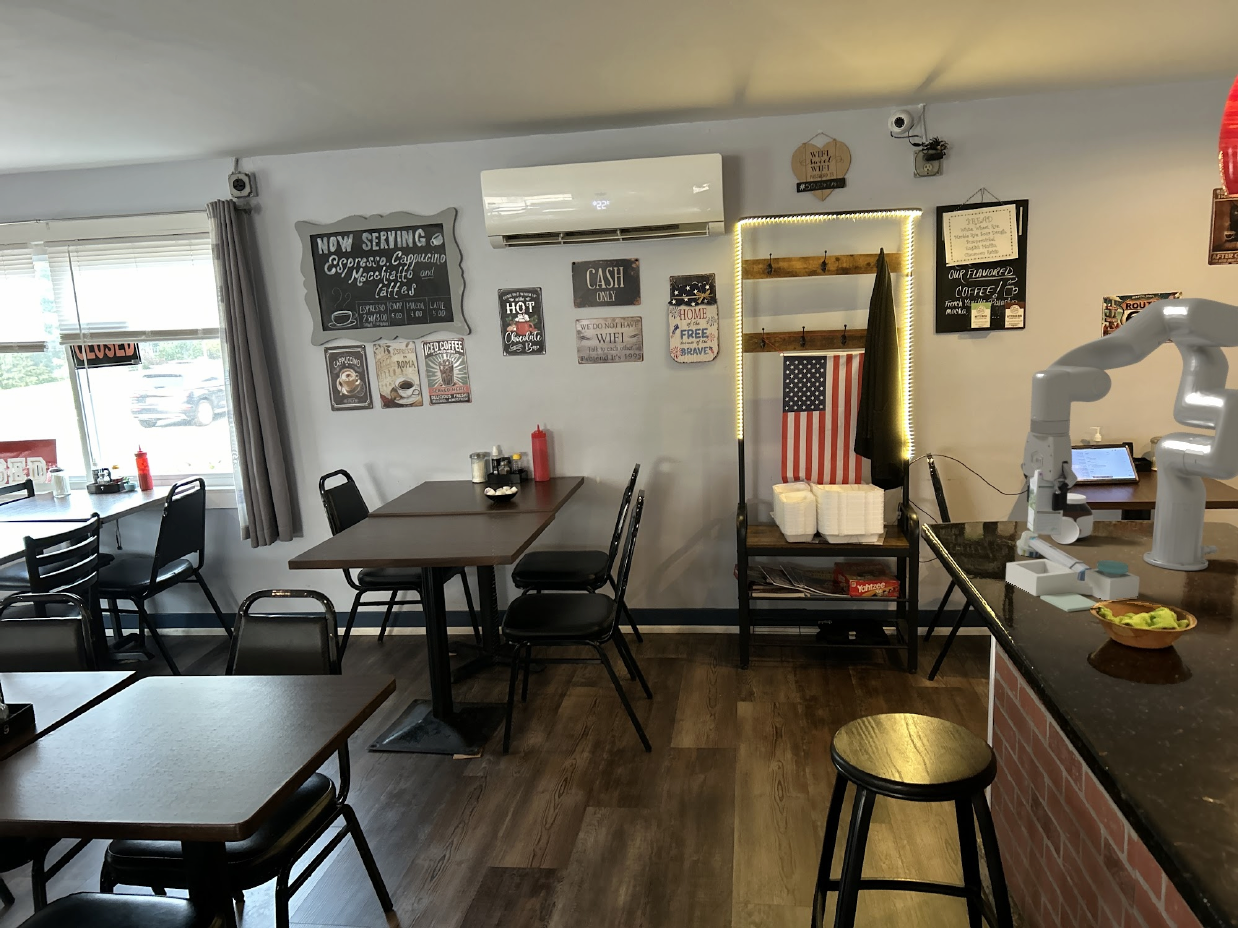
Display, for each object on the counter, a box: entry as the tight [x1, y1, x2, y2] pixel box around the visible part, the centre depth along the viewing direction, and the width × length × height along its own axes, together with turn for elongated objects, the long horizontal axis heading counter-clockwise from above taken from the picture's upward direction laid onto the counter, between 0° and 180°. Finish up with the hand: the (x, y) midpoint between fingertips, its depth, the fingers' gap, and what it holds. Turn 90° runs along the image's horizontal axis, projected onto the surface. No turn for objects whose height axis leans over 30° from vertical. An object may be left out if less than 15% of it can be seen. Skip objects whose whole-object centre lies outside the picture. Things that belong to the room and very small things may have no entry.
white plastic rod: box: [1016, 530, 1092, 581], centre depth 187 cm, size 5×7×25 cm
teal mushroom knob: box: [1096, 559, 1129, 578], centre depth 167 cm, size 6×6×6 cm
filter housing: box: [1005, 558, 1141, 601], centre depth 171 cm, size 18×18×5 cm
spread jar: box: [1050, 492, 1094, 545], centre depth 207 cm, size 12×11×12 cm
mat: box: [1039, 592, 1098, 613], centre depth 164 cm, size 8×8×1 cm
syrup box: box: [1026, 470, 1063, 536], centre depth 171 cm, size 6×6×14 cm
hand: (1046, 505), depth 171 cm, fingers closed on syrup box, 7 cm apart
